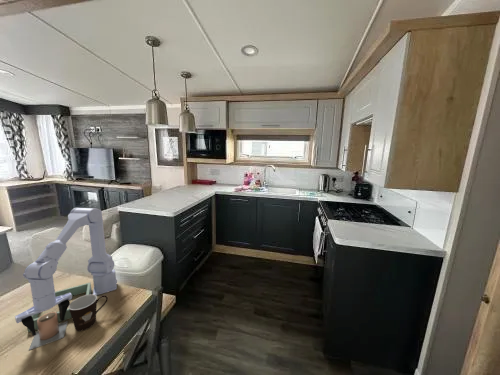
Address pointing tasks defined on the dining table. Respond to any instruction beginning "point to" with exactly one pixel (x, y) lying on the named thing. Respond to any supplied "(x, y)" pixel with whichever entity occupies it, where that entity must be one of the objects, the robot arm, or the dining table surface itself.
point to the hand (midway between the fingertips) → (48, 326)
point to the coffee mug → (84, 311)
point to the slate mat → (37, 342)
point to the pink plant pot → (48, 325)
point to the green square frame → (72, 290)
